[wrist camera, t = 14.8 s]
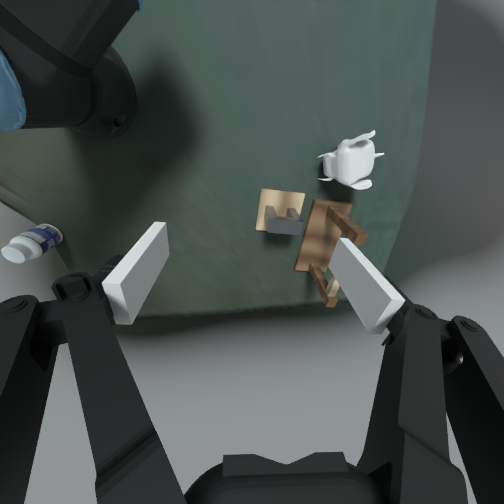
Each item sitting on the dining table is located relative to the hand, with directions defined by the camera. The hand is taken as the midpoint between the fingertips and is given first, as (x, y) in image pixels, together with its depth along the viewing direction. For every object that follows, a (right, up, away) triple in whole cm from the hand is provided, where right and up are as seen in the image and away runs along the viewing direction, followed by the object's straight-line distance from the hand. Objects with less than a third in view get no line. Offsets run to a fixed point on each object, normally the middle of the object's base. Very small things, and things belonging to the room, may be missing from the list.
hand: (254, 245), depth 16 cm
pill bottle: (-49, +4, +34) cm, 59 cm away
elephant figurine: (+19, +19, +28) cm, 39 cm away
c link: (+6, +9, +33) cm, 35 cm away
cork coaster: (+6, +9, +33) cm, 35 cm away
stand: (+17, +3, +38) cm, 42 cm away
